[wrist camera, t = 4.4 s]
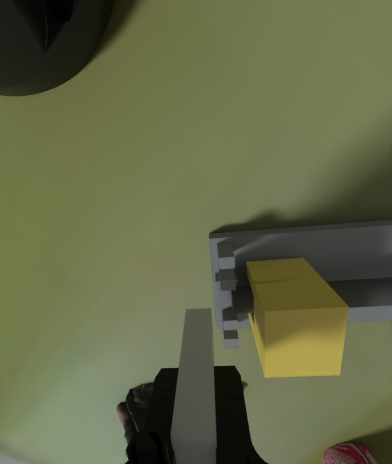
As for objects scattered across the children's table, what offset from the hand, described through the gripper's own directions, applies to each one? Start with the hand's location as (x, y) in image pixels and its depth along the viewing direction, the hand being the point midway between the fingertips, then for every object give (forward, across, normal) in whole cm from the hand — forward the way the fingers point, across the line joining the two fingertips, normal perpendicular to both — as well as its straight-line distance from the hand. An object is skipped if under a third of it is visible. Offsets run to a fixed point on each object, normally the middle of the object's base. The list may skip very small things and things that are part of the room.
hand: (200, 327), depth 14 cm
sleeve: (+4, +5, 0) cm, 7 cm away
